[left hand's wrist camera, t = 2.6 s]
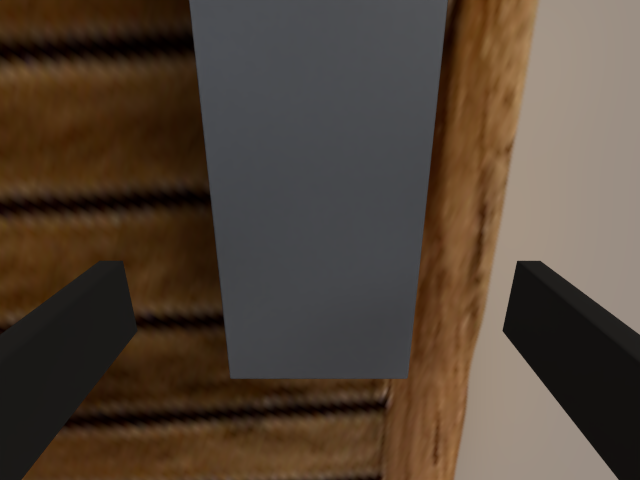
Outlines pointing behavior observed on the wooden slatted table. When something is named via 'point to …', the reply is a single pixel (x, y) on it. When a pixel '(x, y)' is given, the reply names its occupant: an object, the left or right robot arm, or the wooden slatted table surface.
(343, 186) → the long dark gray bar
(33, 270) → the wooden slatted table surface
